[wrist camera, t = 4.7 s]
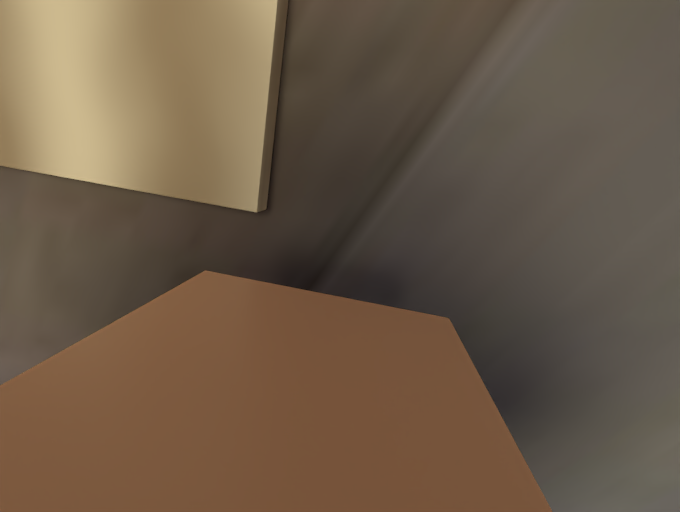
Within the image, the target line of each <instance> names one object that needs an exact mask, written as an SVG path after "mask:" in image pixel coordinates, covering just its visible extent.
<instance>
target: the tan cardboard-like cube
mask: <svg viewBox="0 0 680 512" xmlns="http://www.w3.org/2000/svg"><path fill="white" fill-rule="evenodd" d="M0 512H552V510H551V508H550V506H549V504H548V503H547V501H546V499H545V497H544V495H543V493H542V491H541V490H540V488H539V486H538V484H537V482H536V480H535V478H534V476H533V475H532V473H531V471H530V469H529V467H528V465H527V463H526V461H525V460H524V458H523V456H522V454H521V452H520V450H519V448H518V446H517V445H516V443H515V441H514V439H513V437H512V435H511V433H510V432H509V430H508V428H507V426H506V424H505V422H504V420H503V418H502V417H501V415H500V413H499V411H498V409H497V407H496V405H495V403H494V402H493V400H492V398H491V396H490V394H489V392H488V390H487V389H486V387H485V385H484V383H483V381H482V379H481V377H480V375H479V374H478V372H477V370H476V368H475V366H474V364H473V362H472V360H471V359H470V357H469V355H468V353H467V351H466V349H465V347H464V345H463V344H462V342H461V340H460V338H459V336H458V334H457V332H456V331H455V329H454V327H453V325H452V323H451V321H450V319H449V318H446V317H441V316H436V315H431V314H426V313H421V312H416V311H411V310H405V309H400V308H395V307H390V306H385V305H380V304H375V303H370V302H364V301H359V300H354V299H349V298H344V297H339V296H334V295H329V294H323V293H318V292H313V291H308V290H303V289H298V288H293V287H288V286H282V285H277V284H272V283H267V282H262V281H257V280H252V279H247V278H241V277H236V276H231V275H226V274H221V273H216V272H211V271H206V270H205V271H203V272H202V273H200V274H198V275H196V276H195V277H193V278H191V279H189V280H187V281H186V282H184V283H182V284H180V285H178V286H177V287H175V288H173V289H171V290H170V291H168V292H166V293H164V294H162V295H161V296H159V297H157V298H155V299H154V300H152V301H150V302H148V303H146V304H145V305H143V306H141V307H139V308H138V309H136V310H134V311H132V312H130V313H129V314H127V315H125V316H123V317H122V318H120V319H118V320H116V321H114V322H113V323H111V324H109V325H107V326H105V327H104V328H102V329H100V330H98V331H97V332H95V333H93V334H91V335H89V336H88V337H86V338H84V339H82V340H81V341H79V342H77V343H75V344H73V345H72V346H70V347H68V348H66V349H65V350H63V351H61V352H59V353H57V354H56V355H54V356H52V357H50V358H48V359H47V360H45V361H43V362H41V363H40V364H38V365H36V366H34V367H32V368H31V369H29V370H27V371H25V372H24V373H22V374H20V375H18V376H16V377H15V378H13V379H11V380H9V381H8V382H6V383H4V384H2V385H0Z"/></svg>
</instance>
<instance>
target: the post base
mask: <svg viewBox="0 0 680 512" xmlns="http://www.w3.org/2000/svg"><path fill="white" fill-rule="evenodd" d="M288 1H289V0H0V166H5V167H11V168H16V169H22V170H27V171H33V172H38V173H44V174H49V175H55V176H60V177H65V178H71V179H76V180H82V181H87V182H93V183H98V184H104V185H109V186H115V187H120V188H126V189H131V190H137V191H142V192H148V193H153V194H159V195H164V196H170V197H175V198H181V199H186V200H192V201H197V202H202V203H208V204H213V205H219V206H224V207H230V208H235V209H241V210H246V211H252V212H260V211H263V210H266V209H267V199H268V190H269V180H270V171H271V161H272V152H273V143H274V133H275V124H276V114H277V105H278V95H279V86H280V76H281V67H282V57H283V48H284V39H285V29H286V20H287V10H288Z"/></svg>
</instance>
